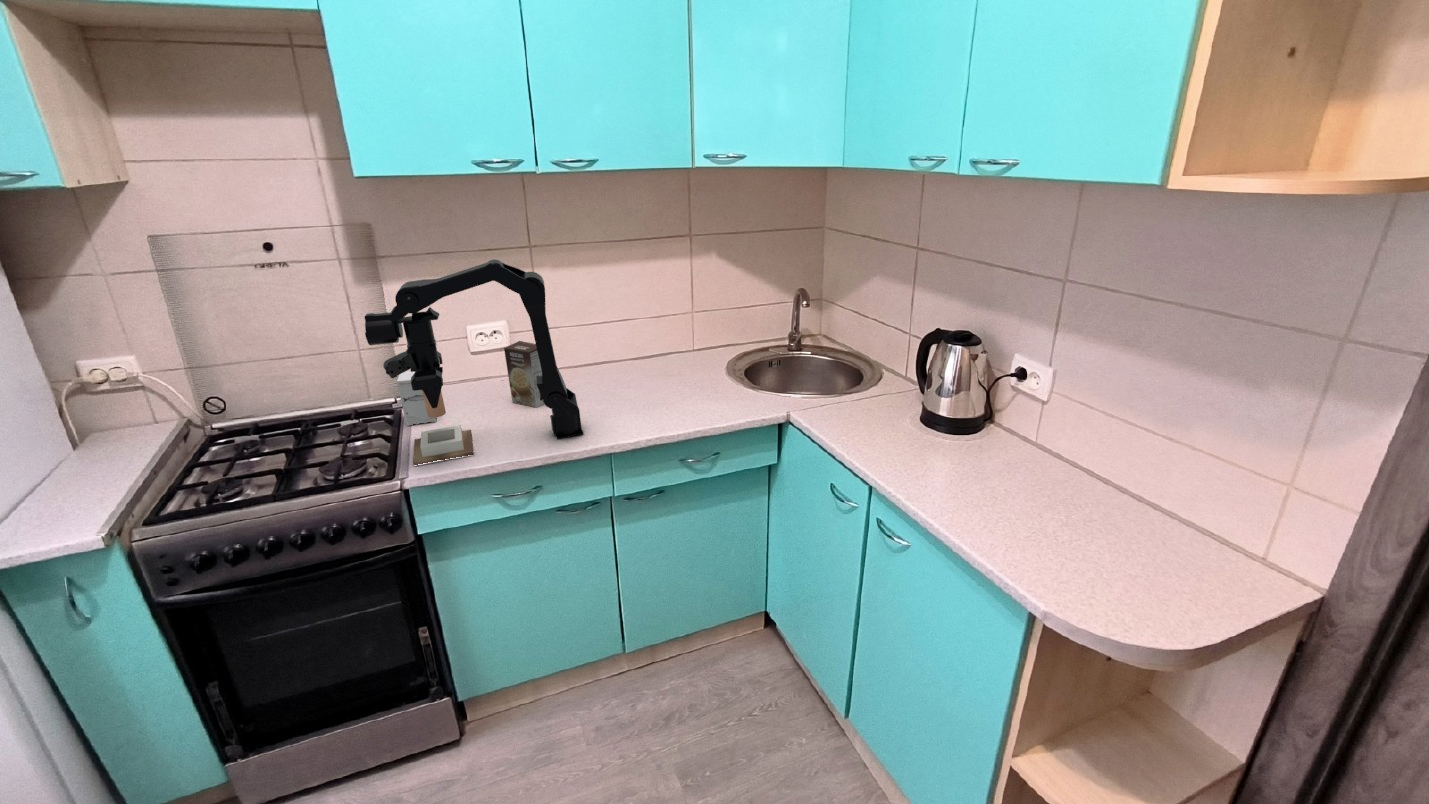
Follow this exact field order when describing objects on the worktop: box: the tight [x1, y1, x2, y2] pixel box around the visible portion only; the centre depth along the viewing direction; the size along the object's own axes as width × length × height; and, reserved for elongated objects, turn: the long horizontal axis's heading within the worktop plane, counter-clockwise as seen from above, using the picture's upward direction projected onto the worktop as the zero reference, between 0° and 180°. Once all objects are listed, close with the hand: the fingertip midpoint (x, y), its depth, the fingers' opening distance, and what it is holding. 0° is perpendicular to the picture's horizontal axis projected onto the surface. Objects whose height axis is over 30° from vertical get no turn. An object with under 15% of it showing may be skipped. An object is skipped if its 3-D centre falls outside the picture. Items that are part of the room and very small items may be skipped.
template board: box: [412, 424, 475, 466], centre depth 159 cm, size 13×13×4 cm
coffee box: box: [503, 340, 545, 408], centre depth 182 cm, size 9×6×16 cm
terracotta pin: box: [422, 390, 447, 418], centre depth 155 cm, size 4×4×8 cm
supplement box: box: [396, 370, 438, 427], centre depth 174 cm, size 7×7×13 cm
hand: (434, 404), depth 155 cm, fingers closed on terracotta pin, 4 cm apart
